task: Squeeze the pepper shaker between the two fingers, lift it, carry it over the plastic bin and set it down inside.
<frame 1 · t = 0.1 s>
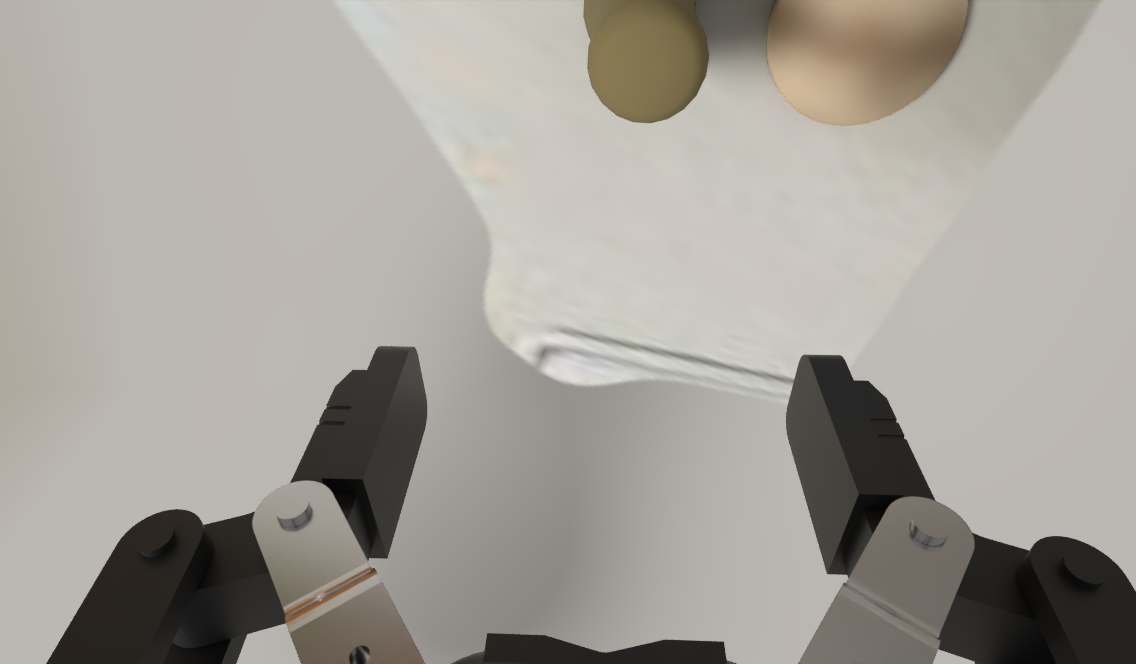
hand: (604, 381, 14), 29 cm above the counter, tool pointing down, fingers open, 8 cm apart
pepper shaker: (638, 8, 37), on the counter
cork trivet: (860, 28, 36), on the counter
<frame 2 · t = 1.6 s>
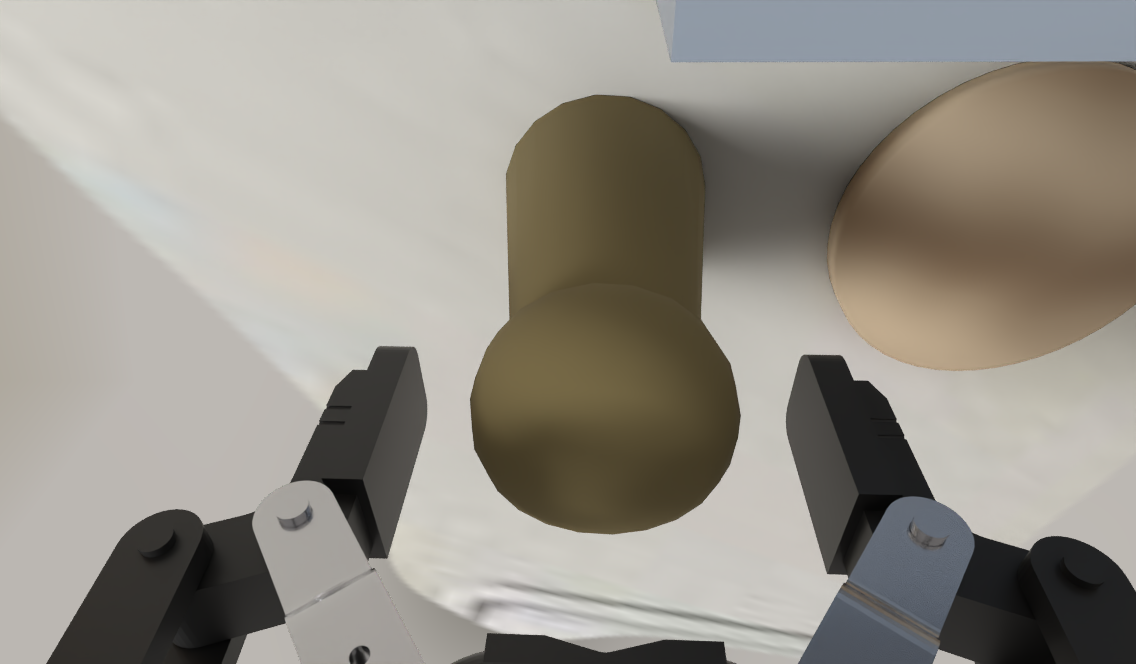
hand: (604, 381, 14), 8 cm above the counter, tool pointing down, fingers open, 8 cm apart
pepper shaker: (604, 190, 21), on the counter
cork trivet: (997, 226, 21), on the counter
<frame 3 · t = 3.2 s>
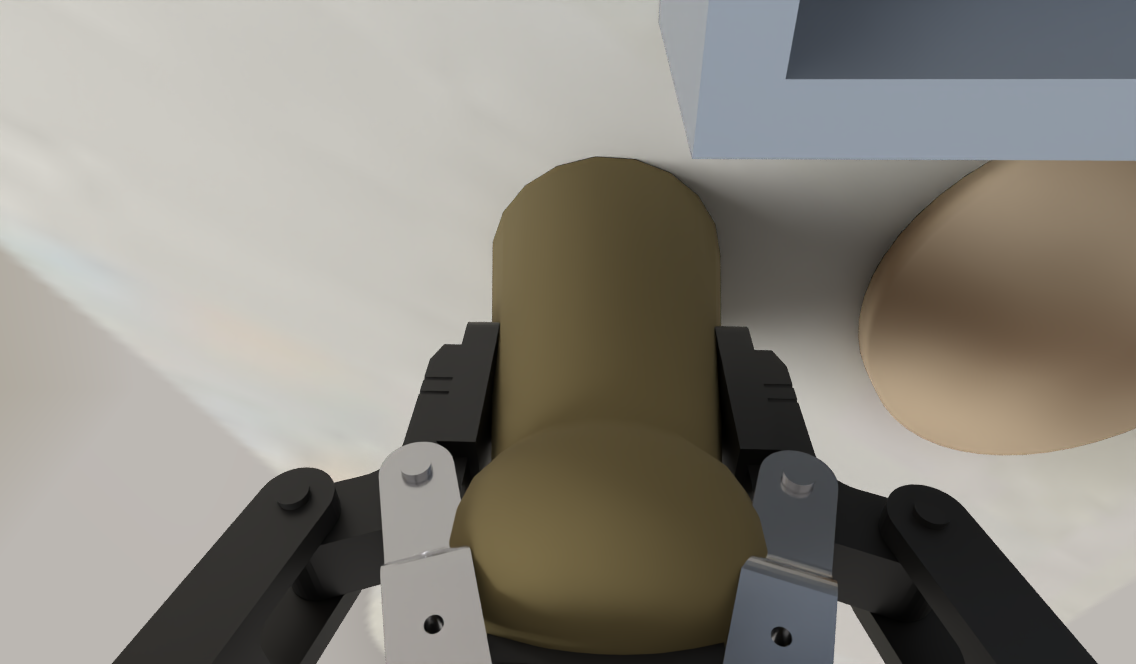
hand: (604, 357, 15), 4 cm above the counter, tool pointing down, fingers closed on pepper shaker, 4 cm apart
pepper shaker: (605, 260, 18), on the counter, touching gripper
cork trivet: (1054, 300, 18), on the counter
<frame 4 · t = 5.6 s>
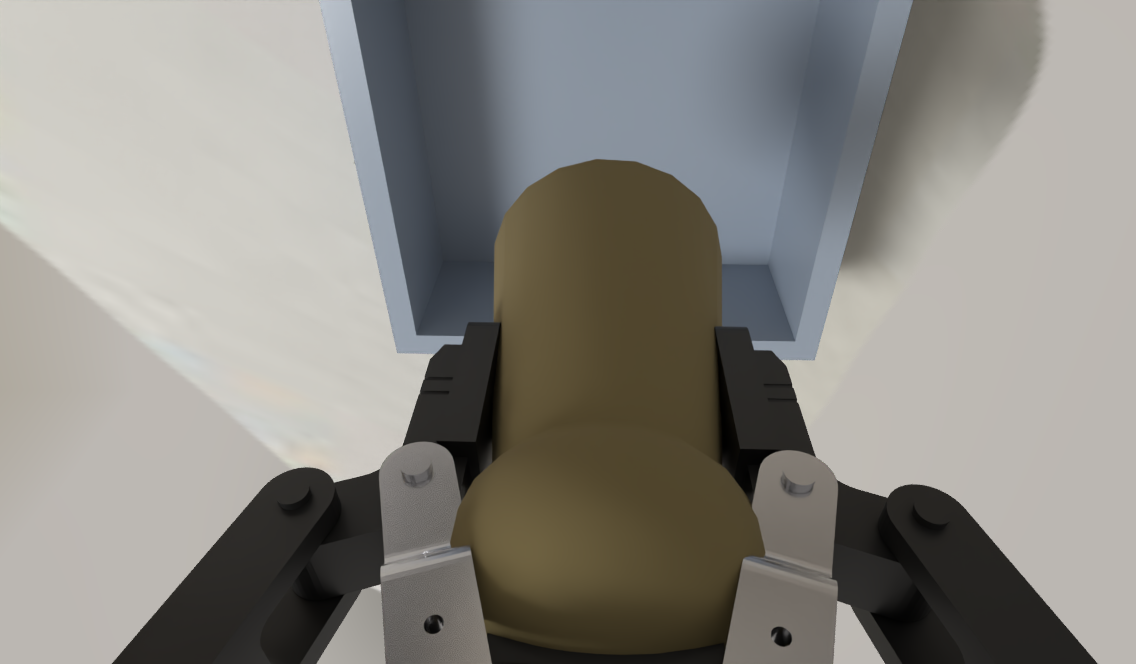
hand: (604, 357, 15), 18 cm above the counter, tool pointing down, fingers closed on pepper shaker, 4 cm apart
pepper shaker: (606, 261, 18), point 14 cm above the counter, touching gripper
bin: (607, 92, 29), on the counter
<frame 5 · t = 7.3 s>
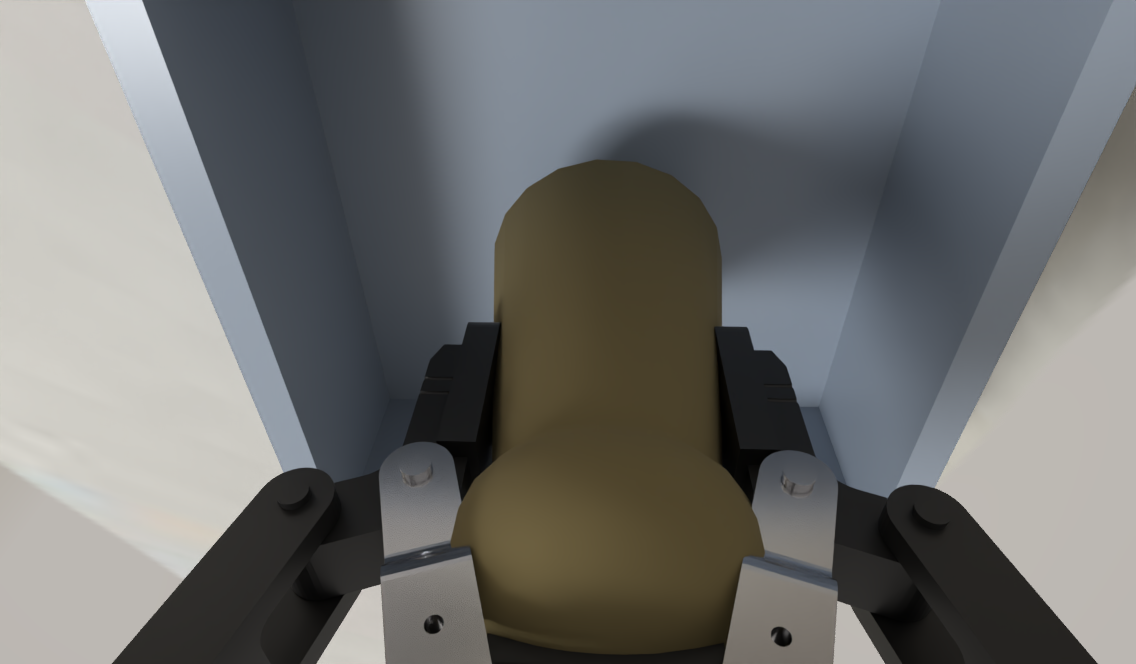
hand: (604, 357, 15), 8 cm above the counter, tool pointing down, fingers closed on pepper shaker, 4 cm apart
pepper shaker: (606, 262, 18), point 4 cm above the counter, touching gripper
bin: (605, 195, 21), on the counter
when the fingers open (7 cm above the counter, at t = 8.4 s): pepper shaker drops 2 cm, resting on bin.
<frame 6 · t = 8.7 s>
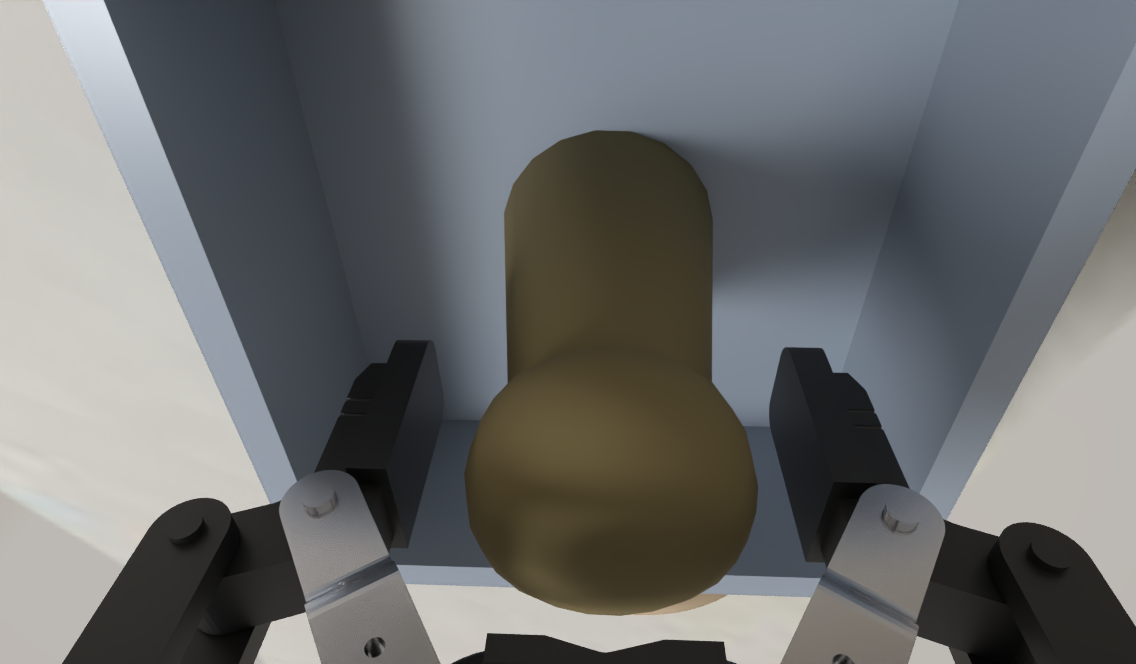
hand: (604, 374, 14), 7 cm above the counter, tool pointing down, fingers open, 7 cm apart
pepper shaker: (607, 227, 20), point 1 cm above the counter, touching bin
bin: (604, 211, 20), on the counter
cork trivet: (642, 534, 30), on the counter
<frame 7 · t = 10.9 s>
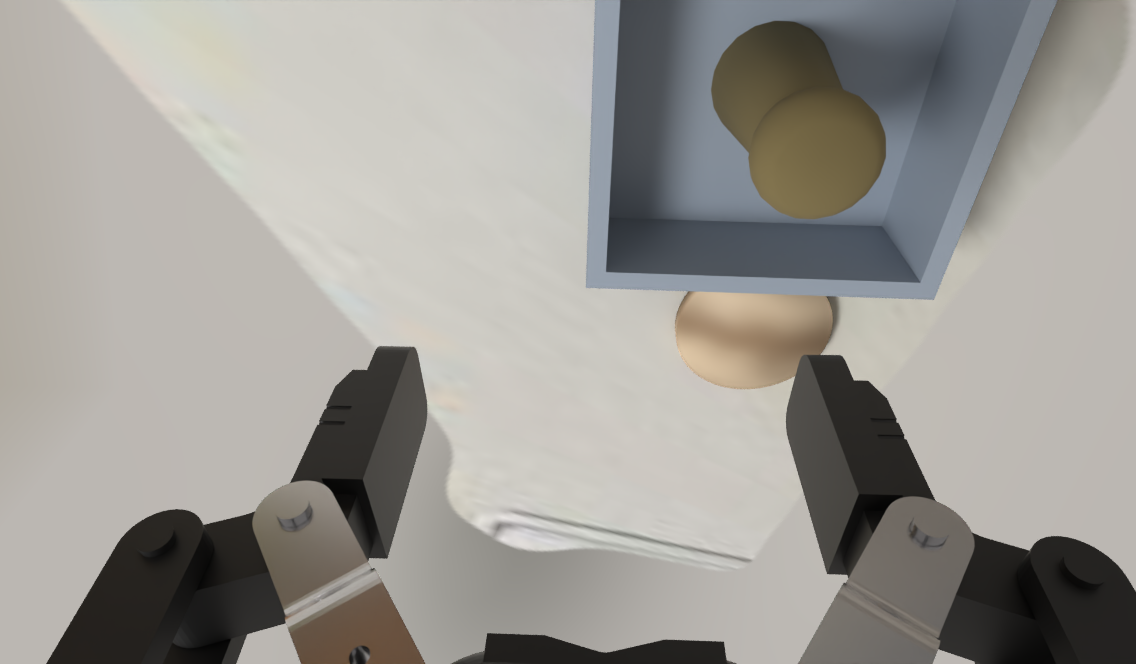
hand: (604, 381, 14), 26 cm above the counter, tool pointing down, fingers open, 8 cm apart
pepper shaker: (770, 82, 35), point 1 cm above the counter, touching bin
bin: (765, 76, 35), on the counter
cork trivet: (750, 323, 45), on the counter
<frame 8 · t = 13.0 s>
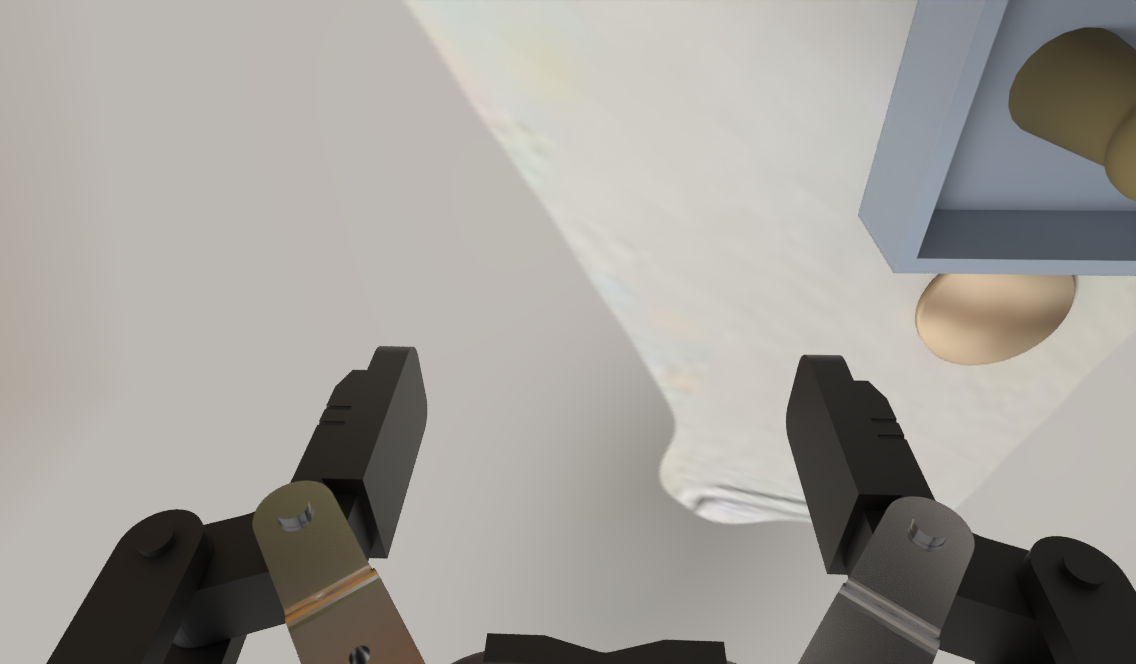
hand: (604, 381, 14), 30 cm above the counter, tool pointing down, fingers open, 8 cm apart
pepper shaker: (1064, 82, 38), point 1 cm above the counter, touching bin
bin: (1056, 76, 39), on the counter
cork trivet: (989, 303, 48), on the counter
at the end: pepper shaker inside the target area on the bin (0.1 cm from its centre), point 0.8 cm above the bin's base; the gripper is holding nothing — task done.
